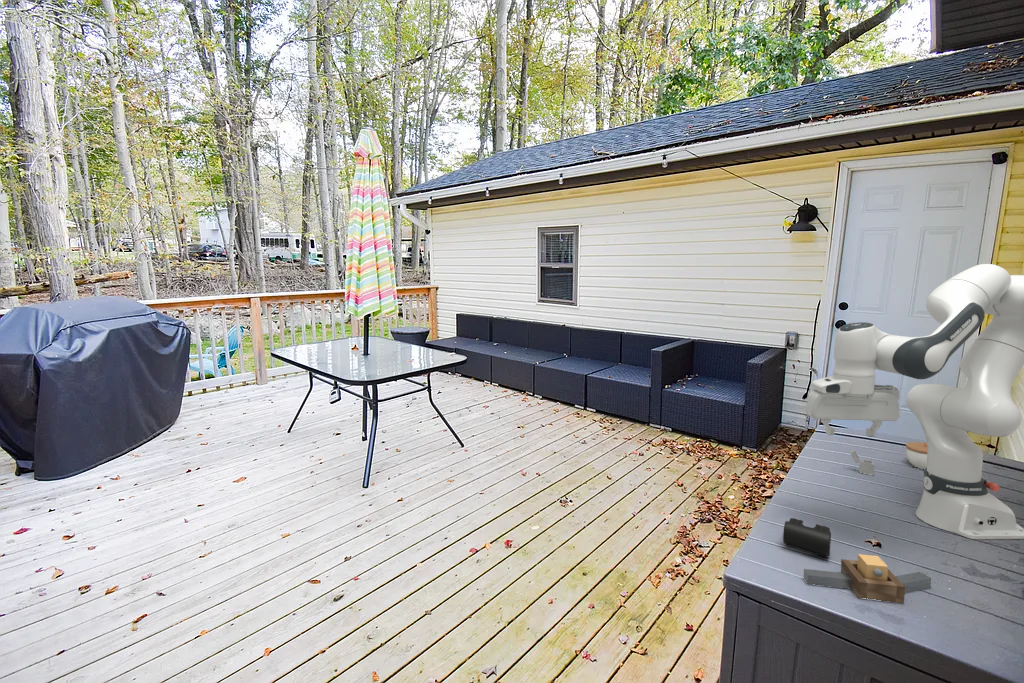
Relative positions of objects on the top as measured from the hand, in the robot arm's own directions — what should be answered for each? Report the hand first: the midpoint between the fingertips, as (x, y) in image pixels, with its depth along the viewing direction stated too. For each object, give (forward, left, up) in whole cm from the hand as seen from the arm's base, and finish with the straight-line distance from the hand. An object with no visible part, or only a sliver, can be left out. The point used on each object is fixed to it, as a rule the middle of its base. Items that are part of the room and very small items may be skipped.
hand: (850, 435), depth 119 cm
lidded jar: (-49, -56, -29) cm, 80 cm away
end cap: (+12, +8, -29) cm, 33 cm away
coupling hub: (+4, +22, -29) cm, 37 cm away
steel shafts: (+4, +20, -29) cm, 36 cm away
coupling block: (+4, +22, -29) cm, 37 cm away
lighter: (-25, -47, -29) cm, 61 cm away
